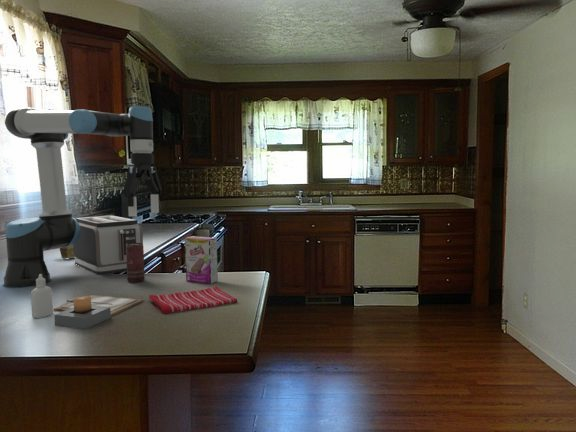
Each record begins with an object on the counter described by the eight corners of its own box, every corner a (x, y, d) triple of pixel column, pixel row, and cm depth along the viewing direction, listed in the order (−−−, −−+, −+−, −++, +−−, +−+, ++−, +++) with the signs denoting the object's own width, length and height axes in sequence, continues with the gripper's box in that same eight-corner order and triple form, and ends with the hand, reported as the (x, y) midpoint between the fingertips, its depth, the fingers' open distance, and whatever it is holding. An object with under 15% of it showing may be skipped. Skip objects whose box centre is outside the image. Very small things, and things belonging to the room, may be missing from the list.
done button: (70, 310, 130) (69, 299, 129) (81, 306, 134) (81, 295, 134) (83, 312, 128) (83, 301, 128) (95, 307, 133) (94, 296, 132)
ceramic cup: (83, 258, 225) (82, 237, 224) (59, 260, 219) (58, 239, 218) (77, 254, 236) (76, 234, 235) (55, 256, 230) (54, 236, 229)
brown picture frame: (49, 310, 142) (49, 306, 142) (87, 296, 158) (87, 292, 158) (110, 316, 136) (110, 312, 136) (143, 301, 151) (143, 297, 151)
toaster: (100, 276, 187) (97, 224, 185) (72, 263, 213) (69, 218, 211) (147, 269, 199) (145, 220, 197) (115, 258, 225) (113, 214, 223)
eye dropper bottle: (30, 315, 137) (27, 274, 136) (51, 312, 140) (49, 271, 139) (33, 319, 134) (30, 277, 132) (55, 315, 137) (52, 274, 136)
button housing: (54, 325, 128) (54, 314, 128) (81, 314, 138) (81, 304, 137) (85, 329, 125) (84, 317, 125) (110, 317, 135) (110, 307, 134)
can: (140, 283, 175) (138, 245, 174) (124, 282, 176) (122, 244, 175) (148, 279, 181) (146, 242, 180) (132, 278, 182) (131, 242, 181)
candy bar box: (185, 281, 177) (184, 237, 175) (193, 278, 182) (192, 235, 180) (210, 284, 172) (209, 239, 171) (218, 281, 177) (217, 237, 175)
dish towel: (147, 302, 152) (147, 294, 152) (218, 292, 163) (218, 284, 163) (161, 316, 137) (161, 307, 137) (238, 304, 148) (237, 296, 148)
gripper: (130, 151, 152) (132, 218, 154) (170, 153, 175) (172, 211, 178) (109, 151, 154) (112, 217, 156) (152, 153, 178) (154, 210, 180)
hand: (144, 214), depth 167 cm, fingers open, 13 cm apart
